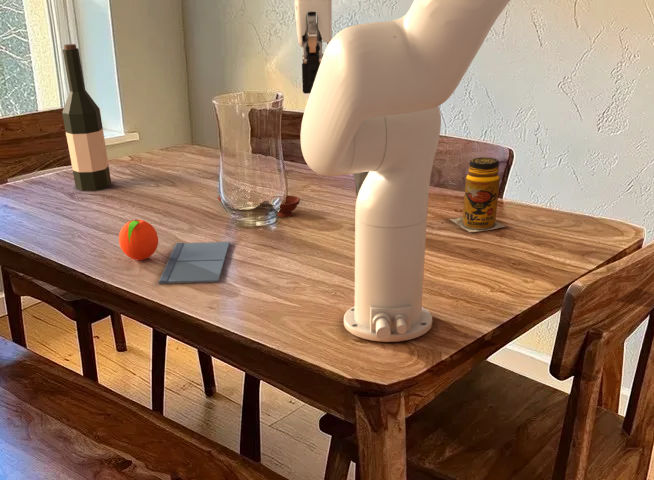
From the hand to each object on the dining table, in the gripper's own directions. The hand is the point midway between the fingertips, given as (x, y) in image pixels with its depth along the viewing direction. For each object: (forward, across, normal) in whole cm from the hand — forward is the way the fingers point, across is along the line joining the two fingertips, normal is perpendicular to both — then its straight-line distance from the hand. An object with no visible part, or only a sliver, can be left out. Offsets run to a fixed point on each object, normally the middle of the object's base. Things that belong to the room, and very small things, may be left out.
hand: (313, 87), depth 120 cm
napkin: (+28, +3, +21) cm, 35 cm away
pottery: (+28, +33, +12) cm, 45 cm away
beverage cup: (+28, +18, -10) cm, 35 cm away
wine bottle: (+28, +57, +52) cm, 82 cm away
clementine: (+28, +5, +32) cm, 43 cm away
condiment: (+28, +19, -30) cm, 46 cm away
